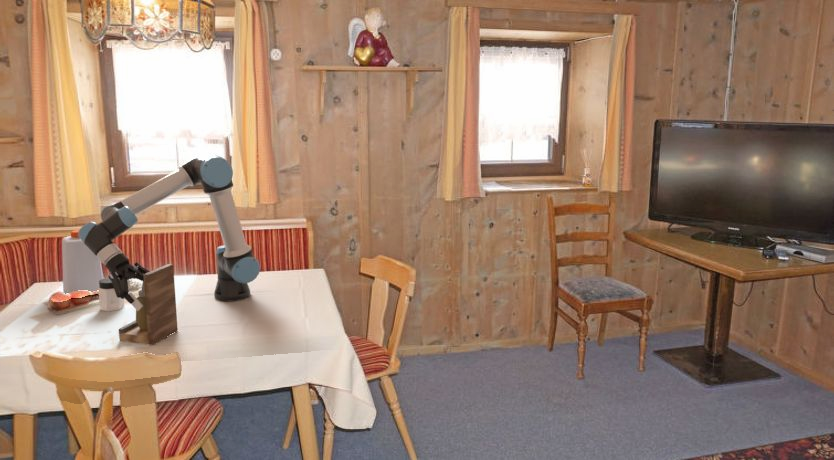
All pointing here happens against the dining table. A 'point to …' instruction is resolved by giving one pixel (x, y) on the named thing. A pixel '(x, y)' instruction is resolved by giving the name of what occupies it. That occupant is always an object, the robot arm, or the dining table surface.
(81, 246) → the plastic bottle
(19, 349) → the dining table surface
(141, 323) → the squeeze bottle
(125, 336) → the wooden bookend
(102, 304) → the jar
